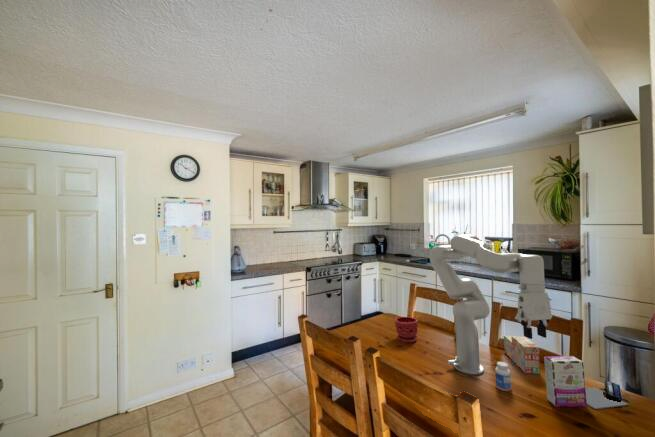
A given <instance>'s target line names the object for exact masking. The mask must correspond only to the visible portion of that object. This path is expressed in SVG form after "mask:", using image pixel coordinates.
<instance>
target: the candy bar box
mask: <svg viewBox="0 0 655 437" xmlns="http://www.w3.org/2000/svg"><path fill="white" fill-rule="evenodd" d="M543 360H544V361H543V362H544V373H545V390H546V398H547V401H549V402H550V403H551V404H552V405H554V407H555V408H564V407H565V408H572V407H573V408H574V407H575V408H577V407H578V408H579V407H580V408H581V407H582V408H583V407H587V406H588V405H587V403H586V391H585V389H586V380H585V378H586V377H585V369H584V361H583V360H581V359H579V358H578V357H576V356H574V355H561V356H560V355H557V356H556V355H555V356H554V355H553V356H543Z"/></svg>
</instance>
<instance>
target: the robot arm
mask: <svg viewBox="0 0 655 437" xmlns="http://www.w3.org/2000/svg"><path fill="white" fill-rule="evenodd" d="M449 242H450V243H449V244H443V245H442V244H441V245H437V246H434V247H433V248H432V249H431V250H430V253H429V262H430V264H431V267H432V269H434V271H435V273H436V274H437V276H438V277H439V280H440V282H441V284H442V286H443V287H444V290H445V292H446V294H447V295H448V297H449V298H450V299H453V300H459V301H457V302H455V303H454V304H453V306H452V314H453V319H454V324H455V338H456V340H455V342H456V356H454V359H448V360H447V362H446V363H447V364H448V365H449V366H450V365H453V367H454V369H456V370H457V371H459V372H461V373H463V374H467V375H472V376H473V375H481V374H483V373H484V368H485V367H483V365H482V364H481V362H480V347H479V346H480V345H479V341H480V340H479V330H478V327H477V326H476V323H475V321H477V320H483V319H486V318H488V317H489V315H490V307H489V304H488V302H487V300H486V298H485V296H484V295H483V293H482V291H481V289H480V287H479V285H478V284H477V283H476V282H475V281H474V280H472V279H470V278H467V277H466V278H465V277H464V278H460V277H459V275H458V274H457V272H456V269H455V268H454V267H453V266H451V265H450V264H449V263H448V262H455V261H461V260H463V259H465V258H468V257H469V258H471V259H474V260H475V261H476V262H477V263H478V264H479V265H480V266H481V267H483V268H485V269H488V270H490V271H493V272H496V273H498V274H500V273H502V274H505V273H506V274H508V273H515V272H519V285H518V289H519V292H518V298H517V313H516V315H515V317H514V319H515V320H517V322H519V323H520V325H521V327H523V328H522V329H523V337H526V338H527V339H529V340H532V339H533V328H532V327H531V326H532V321H537V323H538V324H536V330H537V331H536V332H537V336H540V337H541V338H546V339H547V327H548V324H549V322H550V321H551V319H552V318H553V313H552V307H551V303H550V302H551V301H550V298H549V297H550V296H549V294H548V292H547V291H546V283H545V264H544V263H545V262H544V258H543V257H542V256H541V255H538V254H523V253H520V252H506V253H503V252H502V253H498V252H494V251H491V250H489V247H488V244H487V243H486V242H484V241H481V240H480V238H479V237H478V236H477V235H474V234H458V235H455V236H453V237H452V238H451V239H450V241H449ZM460 299H464V300H460Z"/></svg>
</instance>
